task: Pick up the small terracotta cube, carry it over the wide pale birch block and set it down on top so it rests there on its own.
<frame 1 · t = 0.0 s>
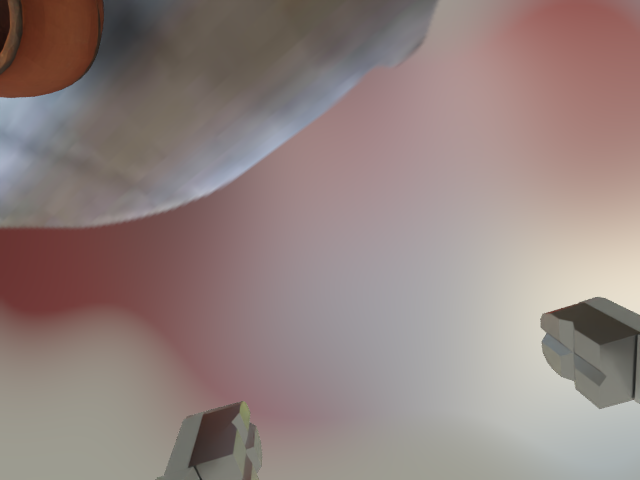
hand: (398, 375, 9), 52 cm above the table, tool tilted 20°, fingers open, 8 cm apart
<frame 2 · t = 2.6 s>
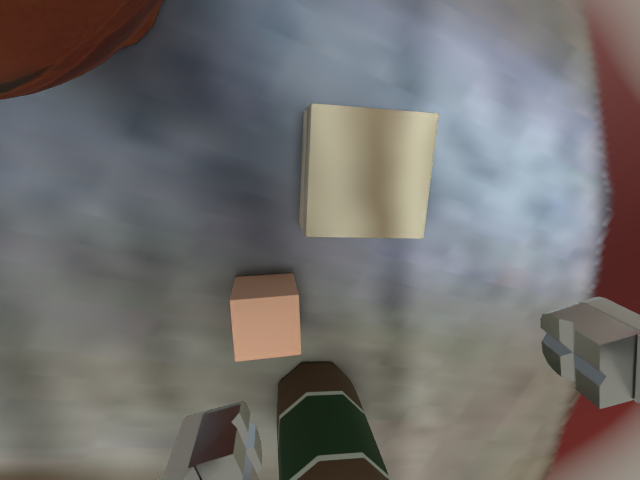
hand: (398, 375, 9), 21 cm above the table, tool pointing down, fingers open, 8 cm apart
beer bottle: (313, 391, 33), on the table
terracotta cube: (266, 301, 30), on the table
birch block: (353, 172, 29), on the table
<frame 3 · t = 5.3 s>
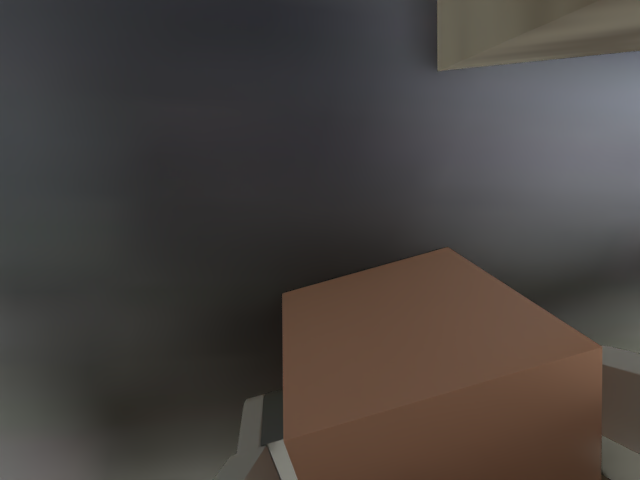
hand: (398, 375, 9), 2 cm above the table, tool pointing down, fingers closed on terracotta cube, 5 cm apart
terracotta cube: (381, 341, 11), on the table, touching gripper
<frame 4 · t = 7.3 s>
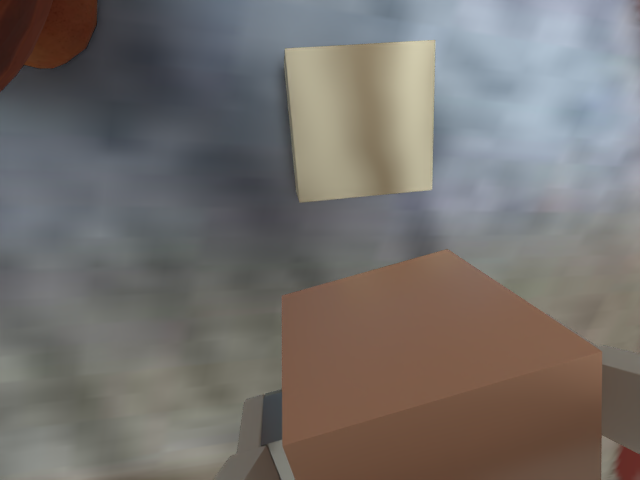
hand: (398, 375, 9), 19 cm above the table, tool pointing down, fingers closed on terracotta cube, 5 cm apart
terracotta cube: (381, 343, 11), point 18 cm above the table, touching gripper
birch block: (348, 127, 26), on the table
when the fingers open (8 cm above the table, at t = 9.4 s): terracotta cube drops 2 cm, resting on birch block.
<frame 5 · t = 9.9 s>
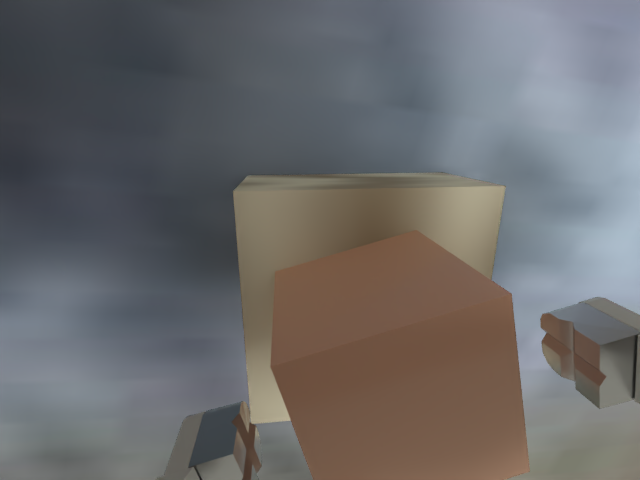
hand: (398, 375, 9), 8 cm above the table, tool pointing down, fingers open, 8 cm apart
terracotta cube: (362, 313, 12), point 5 cm above the table, touching birch block
birch block: (345, 264, 17), on the table, touching terracotta cube
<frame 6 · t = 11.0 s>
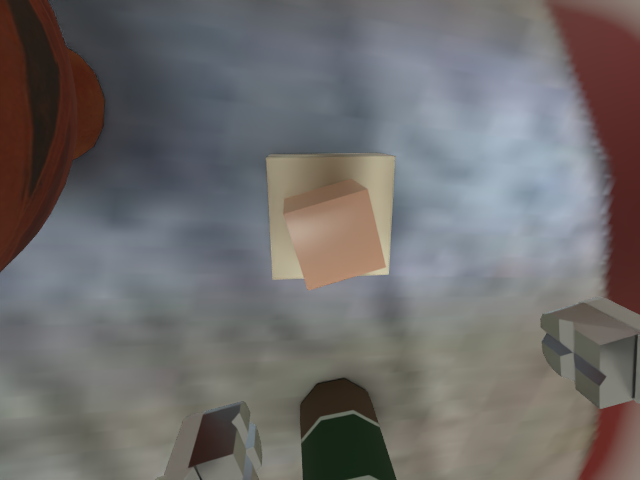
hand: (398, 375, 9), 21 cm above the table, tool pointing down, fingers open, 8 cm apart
beer bottle: (335, 405, 36), on the table
goblet: (45, 105, 25), on the table
terracotta cube: (327, 221, 25), point 5 cm above the table, touching birch block
birch block: (324, 206, 30), on the table, touching terracotta cube
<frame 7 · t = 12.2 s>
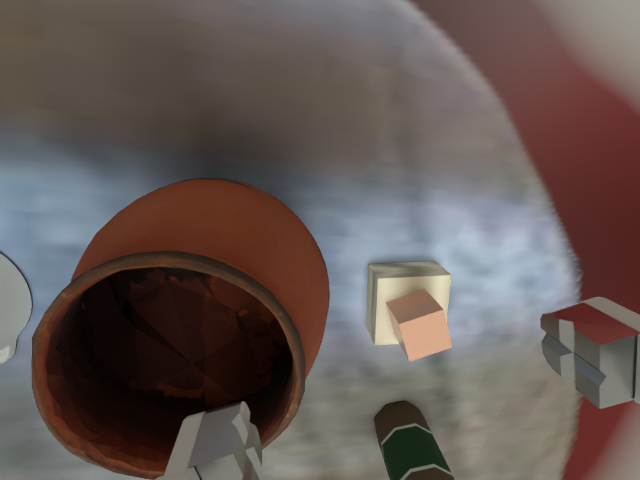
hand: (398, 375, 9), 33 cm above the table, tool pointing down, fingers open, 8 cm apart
beer bottle: (396, 418, 52), on the table
goblet: (236, 242, 42), on the table
terracotta cube: (409, 313, 41), point 5 cm above the table, touching birch block
birch block: (399, 292, 46), on the table, touching terracotta cube
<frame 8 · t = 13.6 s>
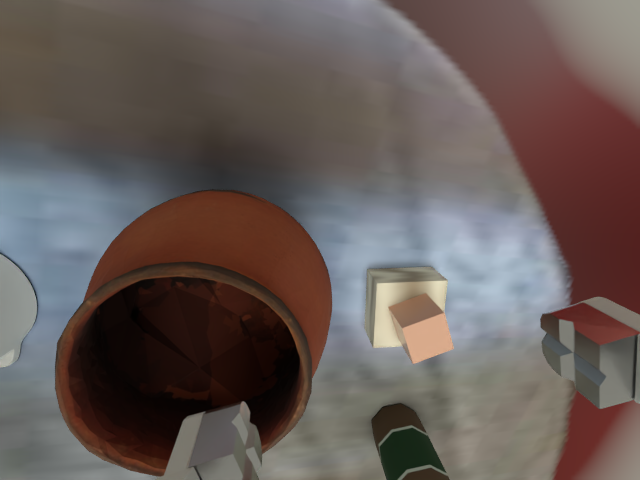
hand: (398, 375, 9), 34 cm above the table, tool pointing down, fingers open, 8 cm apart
beer bottle: (393, 421, 54), on the table
goblet: (239, 248, 43), on the table
terracotta cube: (411, 316, 43), point 5 cm above the table, touching birch block
birch block: (396, 297, 47), on the table, touching terracotta cube
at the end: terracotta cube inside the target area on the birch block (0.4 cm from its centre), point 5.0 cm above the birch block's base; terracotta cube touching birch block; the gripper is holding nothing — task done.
